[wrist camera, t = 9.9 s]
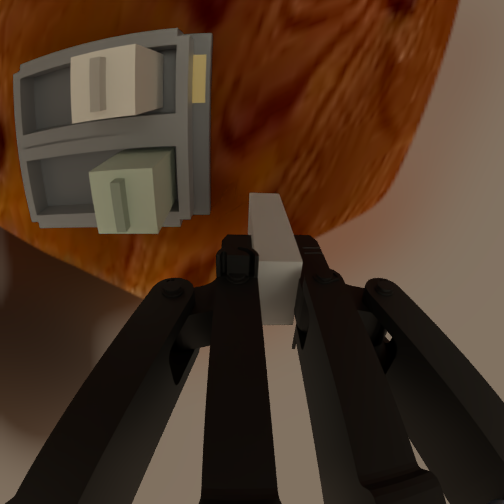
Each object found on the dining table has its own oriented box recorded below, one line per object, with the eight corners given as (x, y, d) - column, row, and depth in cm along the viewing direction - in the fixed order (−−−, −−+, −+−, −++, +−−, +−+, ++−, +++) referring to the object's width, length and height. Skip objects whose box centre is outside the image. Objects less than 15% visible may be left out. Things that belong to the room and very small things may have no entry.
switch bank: (24, 69, 16) (4, 71, 14) (213, 34, 17) (208, 26, 14) (41, 214, 23) (24, 228, 21) (210, 210, 24) (207, 226, 22)
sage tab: (123, 149, 20) (82, 176, 14) (174, 146, 20) (147, 172, 14) (128, 198, 22) (93, 240, 16) (176, 197, 22) (155, 240, 16)
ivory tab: (111, 61, 16) (63, 56, 11) (163, 54, 17) (130, 41, 11) (112, 112, 19) (65, 126, 13) (162, 107, 19) (130, 116, 13)
